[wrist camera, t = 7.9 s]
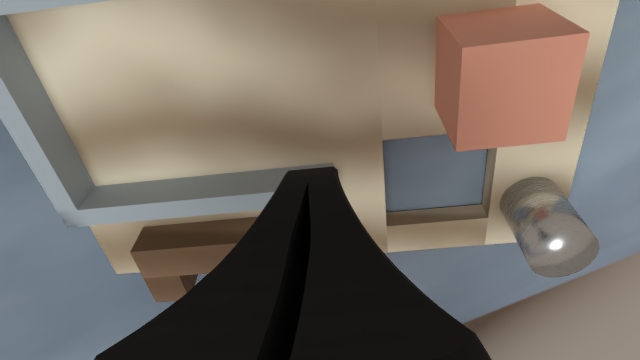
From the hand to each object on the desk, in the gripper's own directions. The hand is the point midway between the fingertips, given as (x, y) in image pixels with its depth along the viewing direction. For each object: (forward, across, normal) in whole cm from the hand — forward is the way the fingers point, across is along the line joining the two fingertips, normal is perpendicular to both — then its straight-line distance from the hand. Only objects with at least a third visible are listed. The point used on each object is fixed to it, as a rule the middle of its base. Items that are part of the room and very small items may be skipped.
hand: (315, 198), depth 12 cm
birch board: (+10, +1, +2) cm, 10 cm away
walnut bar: (+9, +7, +8) cm, 14 cm away
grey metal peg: (+9, -10, +8) cm, 15 cm away
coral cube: (+9, -7, 0) cm, 11 cm away
